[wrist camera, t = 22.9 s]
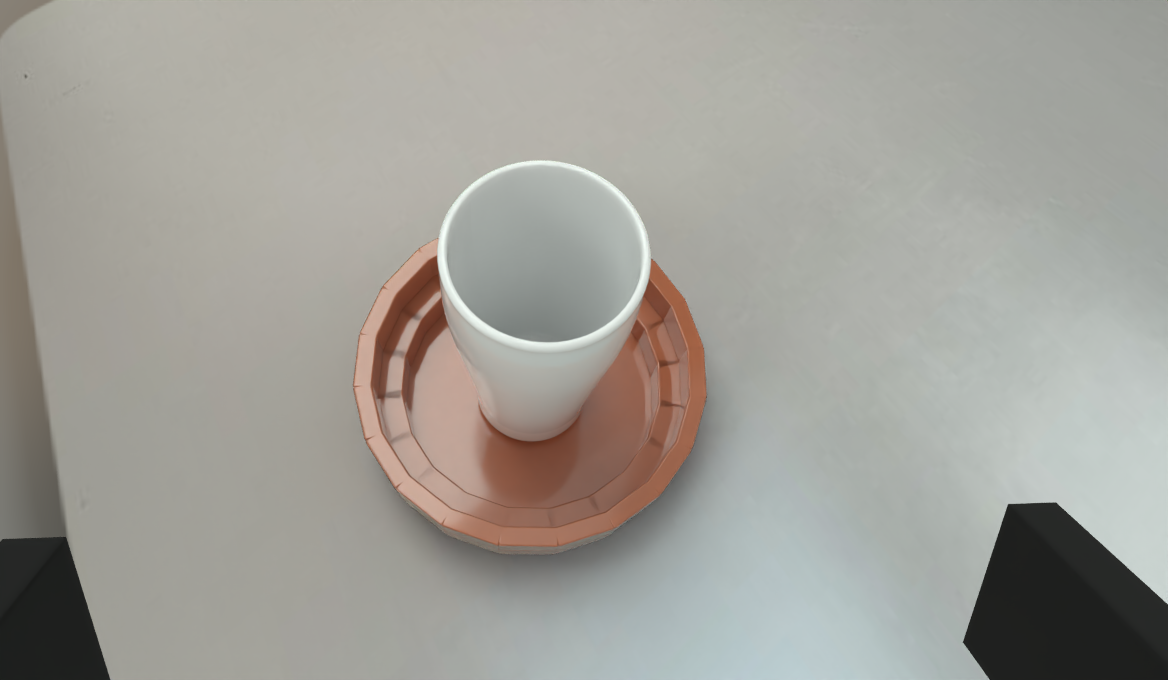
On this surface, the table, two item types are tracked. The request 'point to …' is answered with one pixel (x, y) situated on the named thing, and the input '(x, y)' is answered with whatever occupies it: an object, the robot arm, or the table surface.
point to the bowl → (513, 467)
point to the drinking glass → (540, 290)
